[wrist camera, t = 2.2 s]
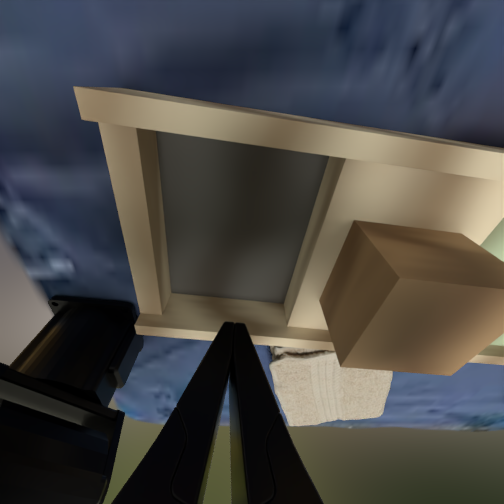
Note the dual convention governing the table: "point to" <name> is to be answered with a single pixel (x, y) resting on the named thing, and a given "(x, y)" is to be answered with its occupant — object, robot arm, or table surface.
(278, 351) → the washcloth
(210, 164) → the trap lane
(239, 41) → the table surface
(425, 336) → the walnut block
